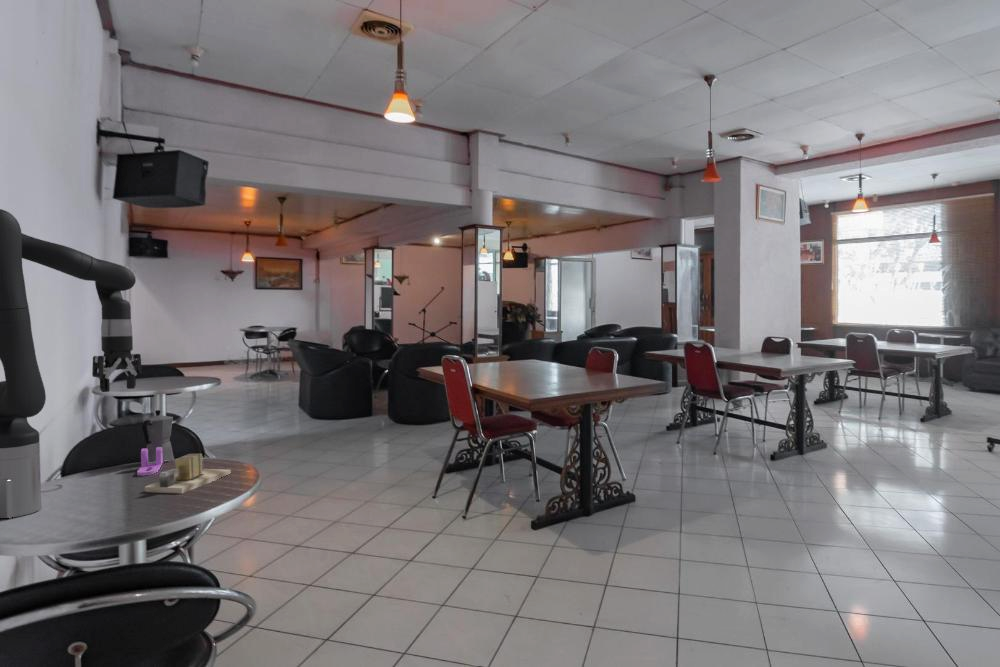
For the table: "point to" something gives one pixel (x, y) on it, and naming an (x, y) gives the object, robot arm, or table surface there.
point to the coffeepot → (158, 436)
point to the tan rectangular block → (189, 466)
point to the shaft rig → (180, 486)
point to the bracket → (153, 466)
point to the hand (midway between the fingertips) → (118, 390)
